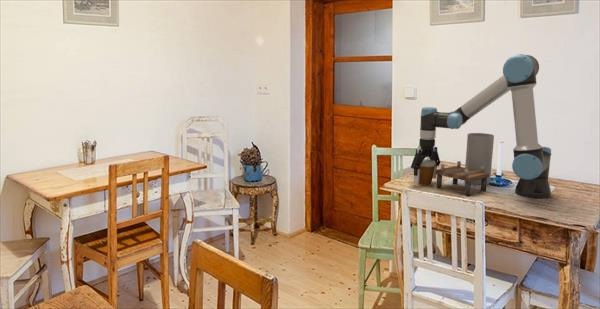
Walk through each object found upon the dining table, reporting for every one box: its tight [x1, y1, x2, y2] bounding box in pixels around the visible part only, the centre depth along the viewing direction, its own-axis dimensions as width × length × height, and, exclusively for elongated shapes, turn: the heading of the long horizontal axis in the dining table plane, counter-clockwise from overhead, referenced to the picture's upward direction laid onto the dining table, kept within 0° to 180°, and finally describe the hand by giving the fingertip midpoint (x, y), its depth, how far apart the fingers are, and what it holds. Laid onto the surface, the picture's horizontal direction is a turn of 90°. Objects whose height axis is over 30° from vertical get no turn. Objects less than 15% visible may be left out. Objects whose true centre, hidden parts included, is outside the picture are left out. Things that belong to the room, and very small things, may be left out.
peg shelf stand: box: [435, 160, 489, 197], centre depth 229 cm, size 19×16×12 cm
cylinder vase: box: [464, 132, 495, 187], centre depth 241 cm, size 12×12×25 cm
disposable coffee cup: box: [417, 158, 436, 187], centre depth 239 cm, size 10×10×12 cm
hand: (425, 180), depth 240 cm, fingers open, 13 cm apart
